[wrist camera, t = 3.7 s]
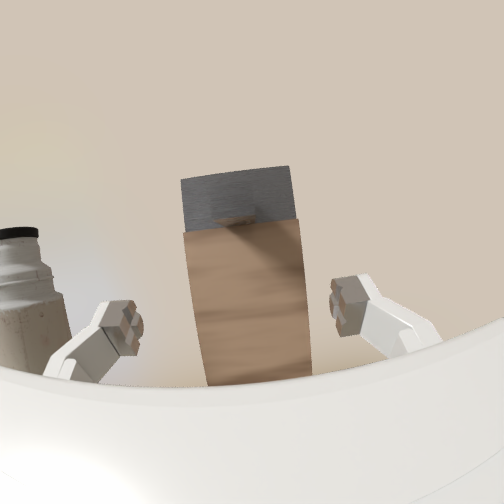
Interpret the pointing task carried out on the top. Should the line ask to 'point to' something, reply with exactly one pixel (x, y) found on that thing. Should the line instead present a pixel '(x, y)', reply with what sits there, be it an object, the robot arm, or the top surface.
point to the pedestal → (250, 302)
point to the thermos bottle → (28, 304)
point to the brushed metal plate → (237, 198)
